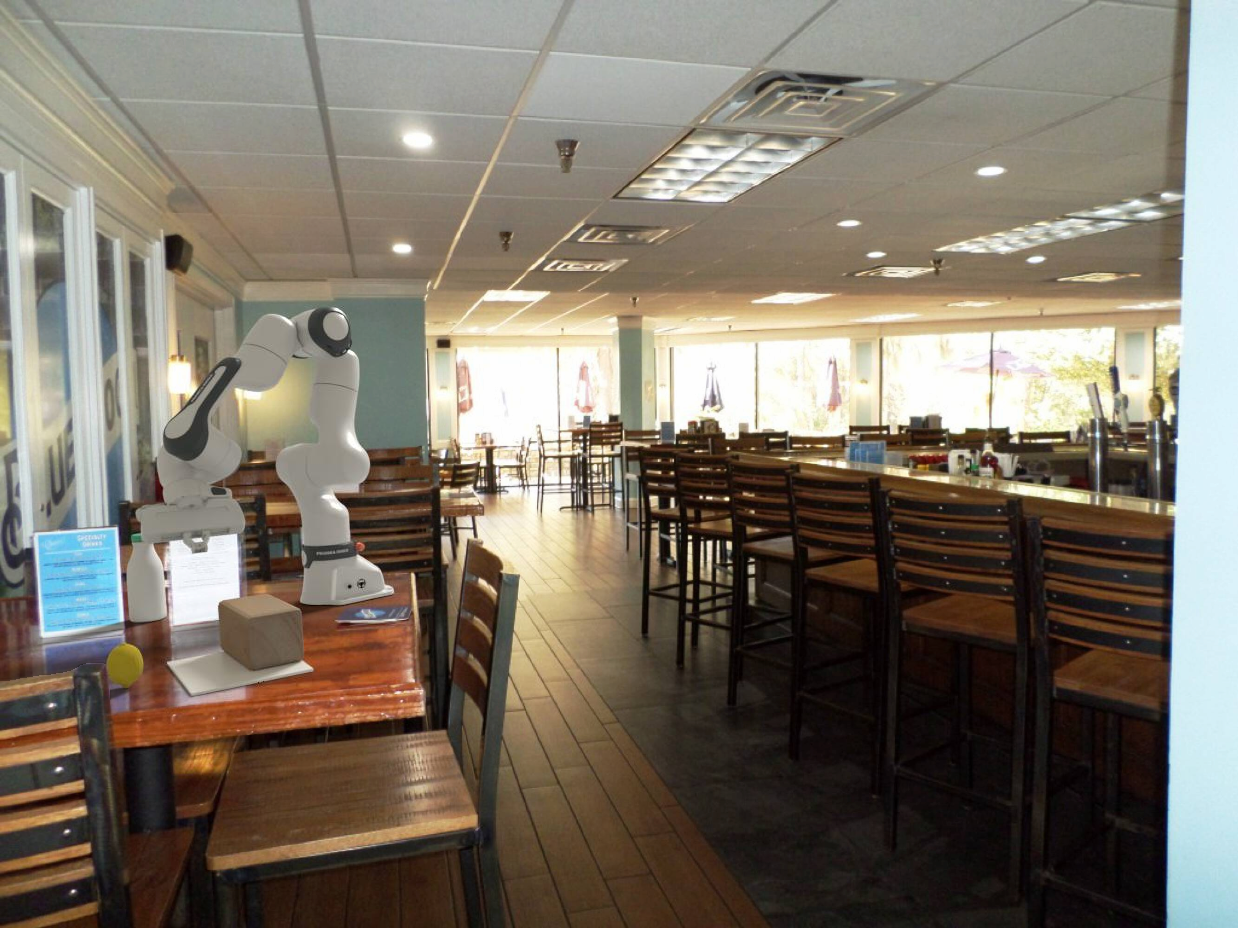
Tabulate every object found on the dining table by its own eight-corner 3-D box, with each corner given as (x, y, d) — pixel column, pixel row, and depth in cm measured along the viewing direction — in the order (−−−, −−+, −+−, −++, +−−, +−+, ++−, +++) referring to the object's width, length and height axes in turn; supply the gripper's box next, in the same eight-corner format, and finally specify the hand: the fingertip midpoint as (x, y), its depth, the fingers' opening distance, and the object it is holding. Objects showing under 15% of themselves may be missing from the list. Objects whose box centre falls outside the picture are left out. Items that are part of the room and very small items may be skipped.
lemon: (151, 682, 153) (148, 637, 153) (132, 692, 148) (129, 646, 147) (121, 683, 154) (117, 638, 153) (101, 693, 148) (97, 647, 148)
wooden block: (219, 650, 171) (250, 672, 155) (216, 600, 170) (246, 617, 155) (271, 640, 177) (306, 660, 162) (268, 591, 177) (303, 607, 161)
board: (277, 644, 176) (277, 641, 176) (313, 671, 157) (313, 668, 157) (167, 664, 164) (167, 661, 164) (191, 696, 145) (191, 693, 145)
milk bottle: (168, 619, 201) (162, 533, 200) (130, 625, 197) (124, 537, 196) (165, 613, 208) (159, 530, 206) (128, 618, 204) (122, 533, 202)
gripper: (134, 496, 182) (145, 548, 175) (238, 488, 195) (252, 536, 187) (133, 516, 186) (143, 567, 179) (234, 506, 199) (248, 554, 191)
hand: (200, 551), depth 183 cm, fingers closed
